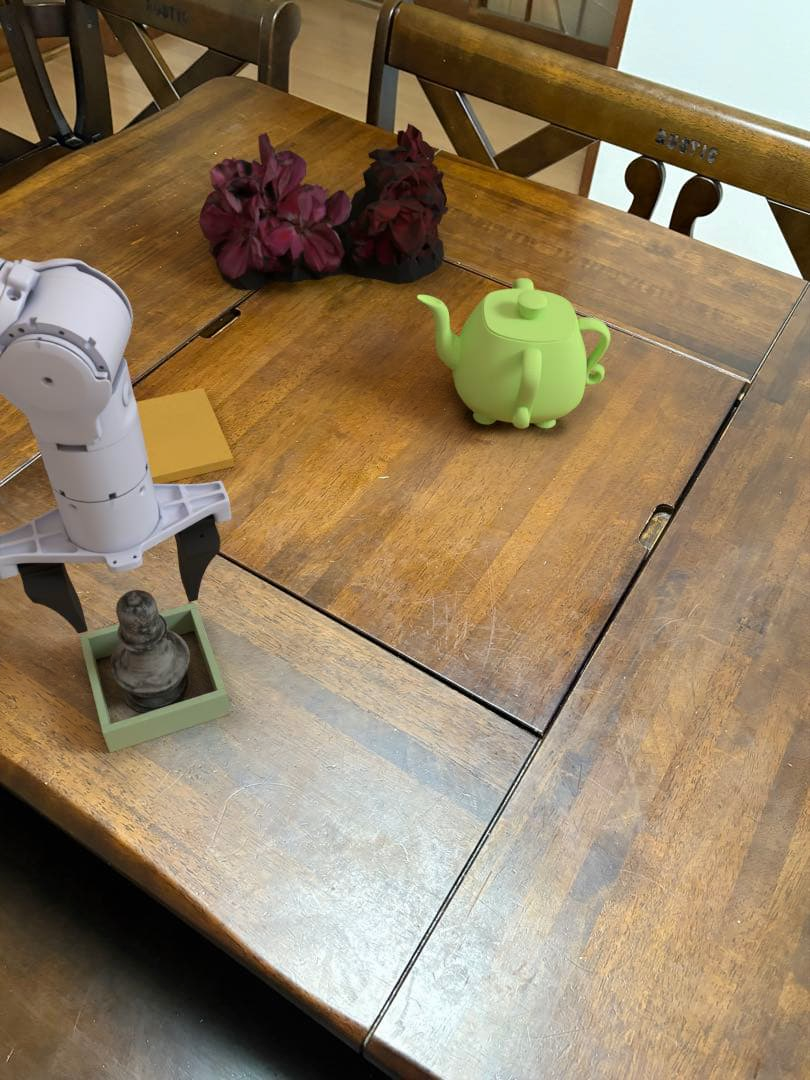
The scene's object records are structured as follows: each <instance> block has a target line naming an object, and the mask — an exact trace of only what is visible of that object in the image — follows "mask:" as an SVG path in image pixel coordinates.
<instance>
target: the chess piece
mask: <svg viewBox="0 0 810 1080" xmlns="http://www.w3.org/2000/svg"><path fill="white" fill-rule="evenodd" d="M115 606H116V608H115V613H116V617H117V620H118V624H120V625H119V628H118V632H117V636H118V640H119V642H120V644H119V645H118V646H117V648H116V649H115V650H114V653H113V655H111V657H110V667H109V668H110V671H111V675H112V678H113V679H114V680H115V682H116V683H117V685H119V686H120V687H121V691H122V696H123V699H124V701H125V702H126V704H127V705H128V706H129V707H131V709H133V710H134V711H136V712H139V713H141V714H144V713H147V712H150V711H153V710H156V709H160V708H163V707H166V706H169V705H172V704H175V703H179V702H182V701H185V700H186V697H188V695H189V693H190V690H191V687H192V677H191V673H190V670H189V669H188V668H189V665H190V661H191V660H190V659H191V657H190V656H191V653H190V649H189V645H188V643H187V642H186V641H185V640H184V639H183V637H182V636H181V635H177V634H176V633H175V632H172V631H169V630H167V623H166V621H165V619H164V618H163V617H162V616H161V615H160V614H159V608H158V605H157V601H156V599H155V597H153V595H152V594H151V593H150V592H148V591H145V590H143V589H142V590H141V589H134V590H133V589H132V590H129V591H127V592H125V593H124V594H123V595H121V597H120V598H119V599H118V600H117V603H116V605H115Z"/></svg>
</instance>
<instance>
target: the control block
mask: <svg viewBox="0 0 810 1080" xmlns="http://www.w3.org/2000/svg"><path fill="white" fill-rule="evenodd" d="M136 404H137V409H138V413H139V418H140V423H141V428H142V432H143V437H144V442H145V447H146V451H147V456H148V461H149V466H150V471H151V476H152V480H153V484H168V483H170V482H171V483H172V482H175V481H179V480H183V479H187V478H192V477H195V476H200V475H203V474H210V473H212V472H217V471H221V470H224V469H229V468H230V469H231V468H234V467H235V459H234V456H233V453H232V451H231V448H230V446H229V443H228V441H227V439H226V437H225V435H224V434H225V433H224V432H223V430H222V428H221V425H220V422H219V420H218V418H217V416H216V414H215V413H216V412H214V409H213V406H212V404H211V402H210V400H209V396H208V394H207V392H206V390H205V388H204V387H200V388H195V389H190V390H185V391H181V392H177V393H172V394H166V395H161V396H157V397H151V398H148V399H143V400H139V401H136Z"/></svg>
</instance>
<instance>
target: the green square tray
mask: <svg viewBox="0 0 810 1080" xmlns="http://www.w3.org/2000/svg"><path fill="white" fill-rule="evenodd" d="M158 612H159V611H158ZM159 614H160V615H161V616H162V617H163V618H164V619H165V621H166V623H167V630H169V631H172V632H175V633H176V634H177V635H179V636H181V635H185V634H189V633H192V632H194V634H195V638H196V640H197V643H198V647H199V649H200V652H201V655H202V658H203V661H204V664H205V667H206V671H207V673H208V676H209V679H210V682H211V685H212V688H213V691H211V692H208V693H204V694H202V695H198V696H195V697H192V698H188V699H184V700H183V701H182V702H179V703H175V704H172V705H169V706H166V707H163V708H160V709H156V710H153V711H150V712H147V713H141V714H137V715H134V716H131V717H129V718H125V719H121V720H118V721H116V722H112V721H111V716H110V712H109V708H108V704H107V699H106V696H105V692H104V689H103V683H102V679H101V677H100V676H101V675H100V672H99V671H100V670H99V668H98V663H97V660H100V659H103V658H106V657H109V656H112V655H113V653H114V650H115V649H116V648H117V646H118V645H119V644H120V642H119V640H118V636H117V632H118V628H119V625H120V624H119V623H118V624H114V625H110V626H107V627H103V628H100V629H96V630H93V631H88V632H84V633H81V634H79V636H78V637H79V641H80V645H81V649H82V653H83V657H84V658H83V659H84V662H85V667H86V670H87V675H88V679H89V683H90V686H91V691H92V694H93V695H92V696H93V699H94V700H93V701H94V703H95V707H96V712H97V716H98V722H99V724H100V730H101V733H102V736H103V738H104V741H105V744H106V746H107V750H108V752H109V753H110V754H112V753H114V752H117V751H120V750H121V751H122V750H124V749H127V748H130V747H132V746H136V745H140V744H142V743H145V742H148V741H151V740H154V739H158V738H160V737H163V736H167V735H170V734H173V733H177V732H180V731H182V730H185V729H188V728H192V727H195V726H198V725H200V724H203V723H207V722H210V721H213V720H217V719H219V718H223V717H225V716H228V715H230V714H231V709H230V704H229V698H228V692H227V689H226V686H225V684H224V681H223V678H222V676H221V675H222V674H221V673H220V669H219V666H218V663H217V660H216V658H215V657H216V656H215V655H214V652H213V649H212V646H211V642H210V640H209V637H208V634H207V632H206V628H205V625H204V622H203V619H202V617H201V613H200V610H199V608H198V606H197V602H190V603H188V604H184V605H180V606H177V607H174V608H170V609H166V610H163V611H160V612H159Z"/></svg>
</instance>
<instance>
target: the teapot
mask: <svg viewBox="0 0 810 1080" xmlns="http://www.w3.org/2000/svg"><path fill="white" fill-rule="evenodd" d="M416 298H417V300H418V301H420V302H421V303H422V304H424V305H425V307H427V308H428V309H429V310H430V312H431V314H432V316H433V317H432V318H433V322H434V345H435V350H436V353H437V355H438V357H439V359H440V360H441V362H442V363H443V364H444V366H446V367H448V369H451V370H452V379H453V384H454V387H455V389H456V392H457V394H458V396H459V397H460V399H461V401H462V402H463V403H464V404H465V406H466V407H468V409H469V410H471V412H473V413H472V417H473V419H474V421H475V422H477V423H479V424H481V425H491V424H494V423H495V422H496V421H501V422H505V423H510V424H511V423H512V425H513V426H514V427H515V428H517V429H519V430H523V429H526V428H529V426H530V424H533V425H535V427H538V428H541V429H550V428H553V427H554V426H555V425H556V424H557V421H556V420H557V419H561V418H562V417H564V416H566V415H567V414H569V413H570V412H572V411H573V410H575V409H576V408H577V407H578V406H579V405H580V403H581V401H582V399H583V398H584V394H585V390H586V386H595V385H599V384H600V383H601V382H602V381H603V380H604V377H605V368H604V367H603V365H602V364H600V363H599V361H601V359H602V358H603V356H604V355H605V353H606V352H607V350H608V348H609V345H610V342H611V331H610V329H609V327H608V326H607V325H606V323H604V322H603V321H602V320H600V319H597V318H595V317H590V316H588V317H587V316H586V317H577V313H576V311H575V308H574V306H573V305H572V303H571V302H570V301H569V300H568V299H567V298H565V297H563V296H562V295H559V294H556V293H553V292H549V291H545V290H540V289H535V286H534V281H532V279H530V278H527V277H519V278H516V279H515V280H514V281H513V283H512V287H511V288H505V289H498V290H494V291H491V292H489V293H488V294H486V295H485V296H484V297H483V298H482V299H481V300H480V301H479V303H478V304H477V305H476V307H475V308H474V309H473V311H472V312H471V313H470V314H469V316H468V317H467V319H466V320H465V322H464V324H463V326H462V329H461V330H460V333H459V335H457V334H455V333H454V332H453V331H452V329H451V324H450V323H451V322H450V321H451V320H450V313H449V309H448V307H447V305H446V303H444V301H442V300H440V299H439V298H437V297H435V296H432V295H428V294H417V295H416ZM582 331H592V332H596V333H598V334H599V335H600V339H599V341H598V343H597V345H596V347H595V348H594V349H593V351H592V352H591V353H590V355H589V356H588V357H587V350H586V345H585V341H584V336H583V332H582ZM591 372H593V373H591ZM594 372H595V373H594Z"/></svg>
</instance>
